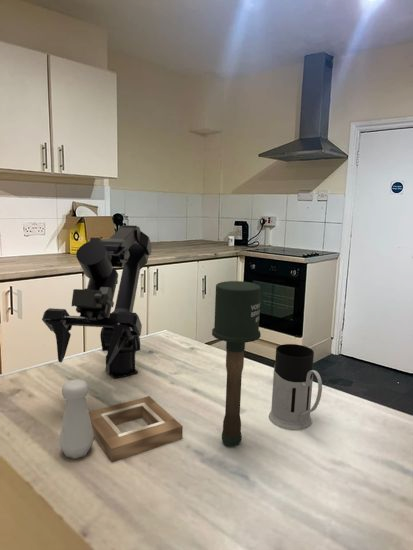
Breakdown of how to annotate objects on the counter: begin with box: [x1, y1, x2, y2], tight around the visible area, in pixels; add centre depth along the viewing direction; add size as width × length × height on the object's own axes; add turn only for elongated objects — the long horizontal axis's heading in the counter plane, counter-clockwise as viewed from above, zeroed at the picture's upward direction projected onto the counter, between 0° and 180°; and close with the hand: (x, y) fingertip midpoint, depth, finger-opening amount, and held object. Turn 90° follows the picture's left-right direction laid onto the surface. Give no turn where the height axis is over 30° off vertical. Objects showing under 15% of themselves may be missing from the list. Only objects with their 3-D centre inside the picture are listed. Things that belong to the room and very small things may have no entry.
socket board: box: [89, 395, 184, 463], centre depth 81 cm, size 14×14×3 cm
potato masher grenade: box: [211, 280, 262, 448], centre depth 76 cm, size 8×9×30 cm
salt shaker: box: [58, 379, 95, 460], centre depth 73 cm, size 6×6×13 cm
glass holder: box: [268, 343, 323, 431], centre depth 84 cm, size 9×14×15 cm, turn 18°
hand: (83, 363), depth 80 cm, fingers open, 9 cm apart
